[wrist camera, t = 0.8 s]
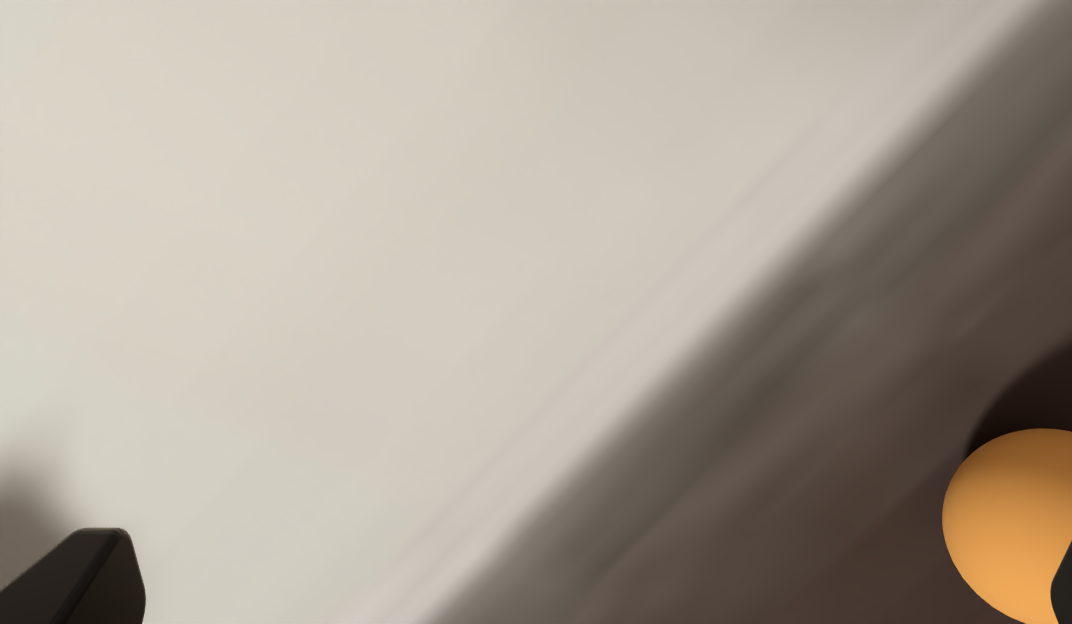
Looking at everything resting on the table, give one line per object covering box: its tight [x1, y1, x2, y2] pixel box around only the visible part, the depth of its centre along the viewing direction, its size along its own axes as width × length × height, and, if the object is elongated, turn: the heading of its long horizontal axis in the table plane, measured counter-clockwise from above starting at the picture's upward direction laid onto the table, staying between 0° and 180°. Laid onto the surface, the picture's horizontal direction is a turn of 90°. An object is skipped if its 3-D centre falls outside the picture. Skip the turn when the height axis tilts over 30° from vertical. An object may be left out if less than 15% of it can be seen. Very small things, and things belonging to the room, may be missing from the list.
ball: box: [942, 428, 1072, 624], centre depth 23 cm, size 5×5×5 cm
